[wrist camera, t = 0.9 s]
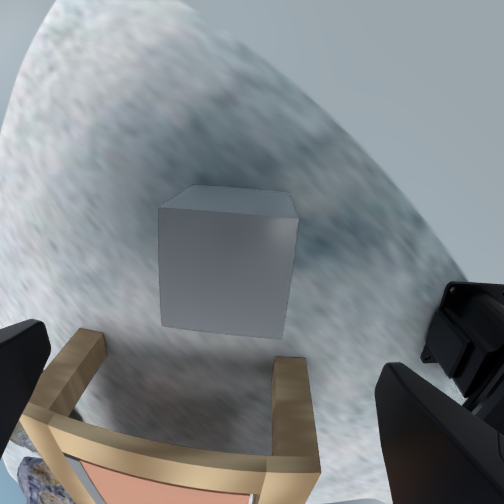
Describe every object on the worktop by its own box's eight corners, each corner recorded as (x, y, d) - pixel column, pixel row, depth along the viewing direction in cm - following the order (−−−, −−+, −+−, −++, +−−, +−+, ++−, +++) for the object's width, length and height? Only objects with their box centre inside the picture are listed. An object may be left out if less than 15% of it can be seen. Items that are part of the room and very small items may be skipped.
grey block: (287, 192, 17) (299, 218, 11) (277, 278, 18) (282, 339, 13) (193, 184, 17) (158, 207, 11) (191, 270, 18) (161, 326, 13)
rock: (95, 489, 30) (74, 542, 21) (31, 448, 28) (2, 498, 19) (119, 470, 27) (94, 539, 18) (41, 420, 25) (2, 483, 16)
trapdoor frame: (305, 358, 20) (321, 472, 12) (274, 476, 25) (273, 553, 17) (79, 328, 20) (13, 410, 12) (117, 452, 26) (90, 520, 17)
